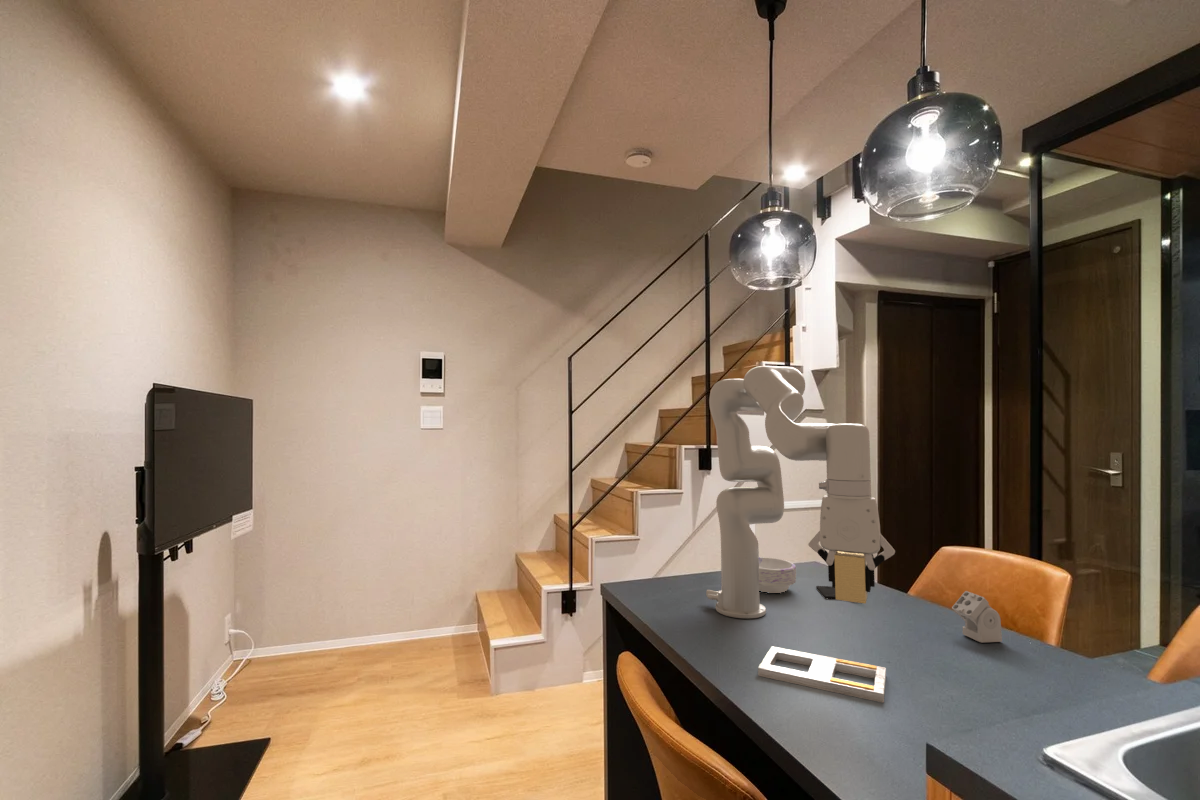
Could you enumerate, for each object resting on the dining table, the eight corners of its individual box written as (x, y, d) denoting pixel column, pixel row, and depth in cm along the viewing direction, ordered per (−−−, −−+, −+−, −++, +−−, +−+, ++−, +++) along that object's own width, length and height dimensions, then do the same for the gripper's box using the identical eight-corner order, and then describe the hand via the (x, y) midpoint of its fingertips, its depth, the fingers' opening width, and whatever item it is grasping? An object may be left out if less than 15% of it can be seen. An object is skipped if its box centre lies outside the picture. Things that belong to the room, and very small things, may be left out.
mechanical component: (1003, 643, 119) (1000, 596, 120) (970, 644, 118) (968, 597, 119) (983, 634, 124) (981, 589, 125) (951, 635, 123) (950, 590, 124)
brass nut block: (835, 599, 100) (834, 555, 100) (838, 592, 104) (837, 550, 105) (865, 603, 97) (864, 558, 98) (867, 596, 102) (866, 553, 102)
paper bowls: (797, 599, 150) (796, 570, 151) (740, 594, 155) (740, 566, 156) (795, 585, 165) (795, 558, 165) (744, 580, 169) (743, 555, 170)
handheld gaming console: (809, 583, 161) (830, 557, 161) (827, 597, 162) (849, 571, 161) (825, 600, 150) (848, 572, 149) (845, 616, 150) (868, 588, 150)
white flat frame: (758, 675, 102) (758, 666, 102) (772, 653, 113) (771, 645, 113) (883, 702, 92) (883, 692, 92) (886, 675, 102) (885, 666, 103)
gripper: (797, 488, 103) (799, 586, 102) (900, 493, 95) (903, 600, 93) (804, 485, 109) (806, 577, 108) (900, 490, 101) (904, 589, 100)
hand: (851, 587), depth 101 cm, fingers closed on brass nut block, 5 cm apart
